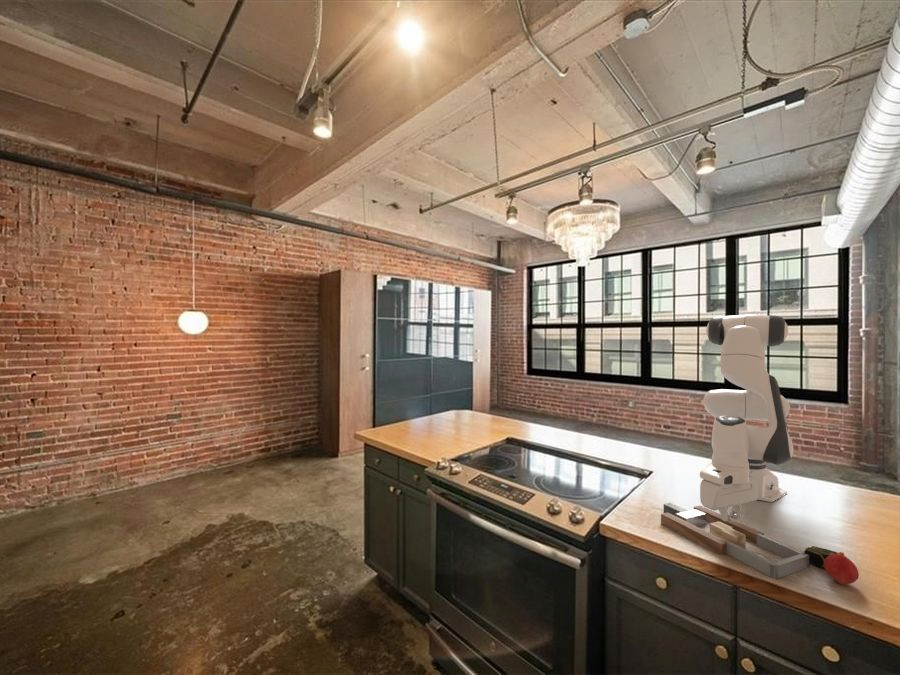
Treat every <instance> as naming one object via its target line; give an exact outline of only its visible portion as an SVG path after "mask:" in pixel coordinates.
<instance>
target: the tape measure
mask: <svg viewBox="0 0 900 675" xmlns="http://www.w3.org/2000/svg"><path fill="white" fill-rule="evenodd" d="M803 553H805V554H807V555H809V564H810V563H811V564H812V565H815V566H817V567H821V568H823V569H825V568H824V560H825V559H826V558H827V557H828V556H829V555H831V554H836V553H838V552H837V551H834V550H831V549H827V548H823V547H819V546H816V545H812V546H811V547H810V546H808V547H805V550H804V551H803Z"/></svg>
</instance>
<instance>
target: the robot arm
mask: <svg viewBox="0 0 900 675" xmlns="http://www.w3.org/2000/svg"><path fill="white" fill-rule="evenodd" d="M705 331H706V335H707V338H708V341H709V342H710V343H712V344H714V345H718V346H721V351H720V361H719V362H720V372H721V374H722V376H723V377H724V378H725V379H726V380H727V381H728V382H730V383H731V384H733V385H735V386H737V387H740V388H742V389H741V390H740V389H726V388H725V389H724V388H720V389H710V390H708V391H706V393H705V395H704V396H703V398H702V399H703V400H702V404H703V408H704V409H705V410H706V412H707V413H708V414H709V415H711V416H712V417H713V418H714V420H713V425H712V430H711V433H710V443H711V444H710V445H711V448H712V452H713V453H712V456H711V463H709V464H708V465H707V466H706V467H705V468H703V469H702V470H700V471H699V478H700V479H702V480H701V481H700V486H699V500H700V504H701V506H702V507H705V508H707V509H709V510H712V511H718V513H719V514H721V519H722V520H723V521H730V519H732V520H738V519H740V512H741V510H742V508H743V504H744V505H745V504H748V503H752V502H756V501H763V502H769V503H773V501H774V502H775V500H776V501H777V499H778V498H779V499H781V498H782V497H781V496H783V495H784V494H786V493H787V494H788V492H787V490H785V489H783V488H781V487H779V478H778V476H777V475H776V474H774V473H773V472H772V471H770V470H769V469H768V467H767V464H773V465H777V466H780V465H783V464H785V463H788V462H790V461H791V460H792V459H793V456H794V445H793V440H792V438H791V436H790V433H789V429H788V424H787V420H786V418H787V417H788V415H789V413H790V409H791V408H790V404H789V401H788V400H787V399H786V398H785V397H784V396H783V395H782V394H781V391H780V386H779V383H778V381H777V379H776V377H775V376H774V375H772V374H769V373H768V371H767V369H766V366H765V365H766V348H765V347H766V346H767V347H771V348H772V347H777V346H780V345H781V344H782V345H783V343H784V342H785V340H786V339H787V337H788V334H789V327H788V323H787V322H786V319H784V318H783V317H782V316H778V315H773V314H769V315H763V314H736V315H725V316H724V315H719V316H713V317H712V318H711V319H709V321H708V323H707V326H706V329H705ZM743 389H744V390H743ZM746 420H749V421H750V420H751V421H758V422H760V421H761V422H767V423H768V426H767V427H761V426H755V425H754V426H752V425H747V421H746ZM787 494H786V495H787ZM784 496H785V495H784ZM784 496H783V497H784ZM780 497H781V498H780ZM779 499H778V500H779ZM729 508H731V510H730V511H729ZM728 511H729V513H728Z"/></svg>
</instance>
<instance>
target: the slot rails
mask: <svg viewBox="0 0 900 675" xmlns="http://www.w3.org/2000/svg"><path fill="white" fill-rule="evenodd" d="M694 509H696V510H698V511H701V512H703V513H705V514H706V522H708V523H709V524H710V523H714V522H718V521H719V522H722V523H724V524H726V525H728V526H730V527H733V529H734V530H736V531H738V532H740V533H743V534H745V535H746V540H747V541H749V542H751V543H753V544H756V545H757V534H761V535H764V536H765V533H764V532H762V531H761V530H757V529H755V528H753V527H751V526H748V525H747V524H744V523H742V522H740V521H738V520H737V521H736V519H733V518H730V521H723V520H722V519H721V513H720V512H717V511H715V510H711V509H708V508H706V507H704V506H703V505H695V506H693V510H694ZM660 524H662V525H664V526H665V527H667V528H670V529H672V530H674V531H675V532H677V533H679V534H681V535H683V536H685V537H686V538H689V539H690V540H692V541H694V542H696V543H698V544H699V545H701V546H703V547H704V548H705V547H706V548H707V549H709V550H711V551H713V552H715V553H717V554H719V555H720V556H725V555H728V554H727V541H725V540H723V539H721V538H719V537H717V536H715V535H713V534H711V533H710V531H709V532H708V531H706V530H704V529H703V528H701V527H699V526H695V525H693V524H690V523H688V522H686V521H684V520H682V519H680V518H678V517H676V516H674V515H672V514H670V513H668V512H667V513H664V512H663V513H660Z"/></svg>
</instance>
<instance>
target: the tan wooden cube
mask: <svg viewBox="0 0 900 675" xmlns="http://www.w3.org/2000/svg"><path fill="white" fill-rule="evenodd" d="M729 528H732V529H733V527H730V526H728V525H726V524H724V523H722V522H719V521H718V522H714V523H710V522H709V533H711V534H713V535H715V536H717V537H719V538H721V530H725V529H729Z"/></svg>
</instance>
